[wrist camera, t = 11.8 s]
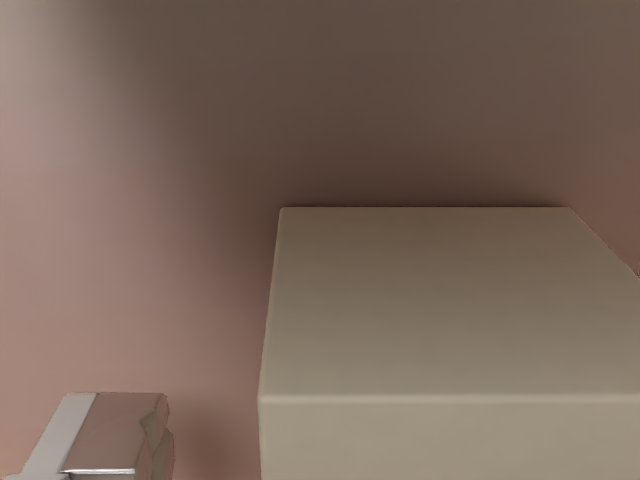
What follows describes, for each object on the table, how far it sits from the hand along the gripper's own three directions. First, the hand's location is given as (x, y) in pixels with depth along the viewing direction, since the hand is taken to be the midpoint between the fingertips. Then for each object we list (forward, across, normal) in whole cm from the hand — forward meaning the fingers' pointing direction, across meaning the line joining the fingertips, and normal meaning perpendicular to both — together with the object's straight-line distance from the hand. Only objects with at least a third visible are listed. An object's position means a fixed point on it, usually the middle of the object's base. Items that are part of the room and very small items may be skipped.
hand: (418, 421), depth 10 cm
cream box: (+2, 0, 0) cm, 2 cm away
